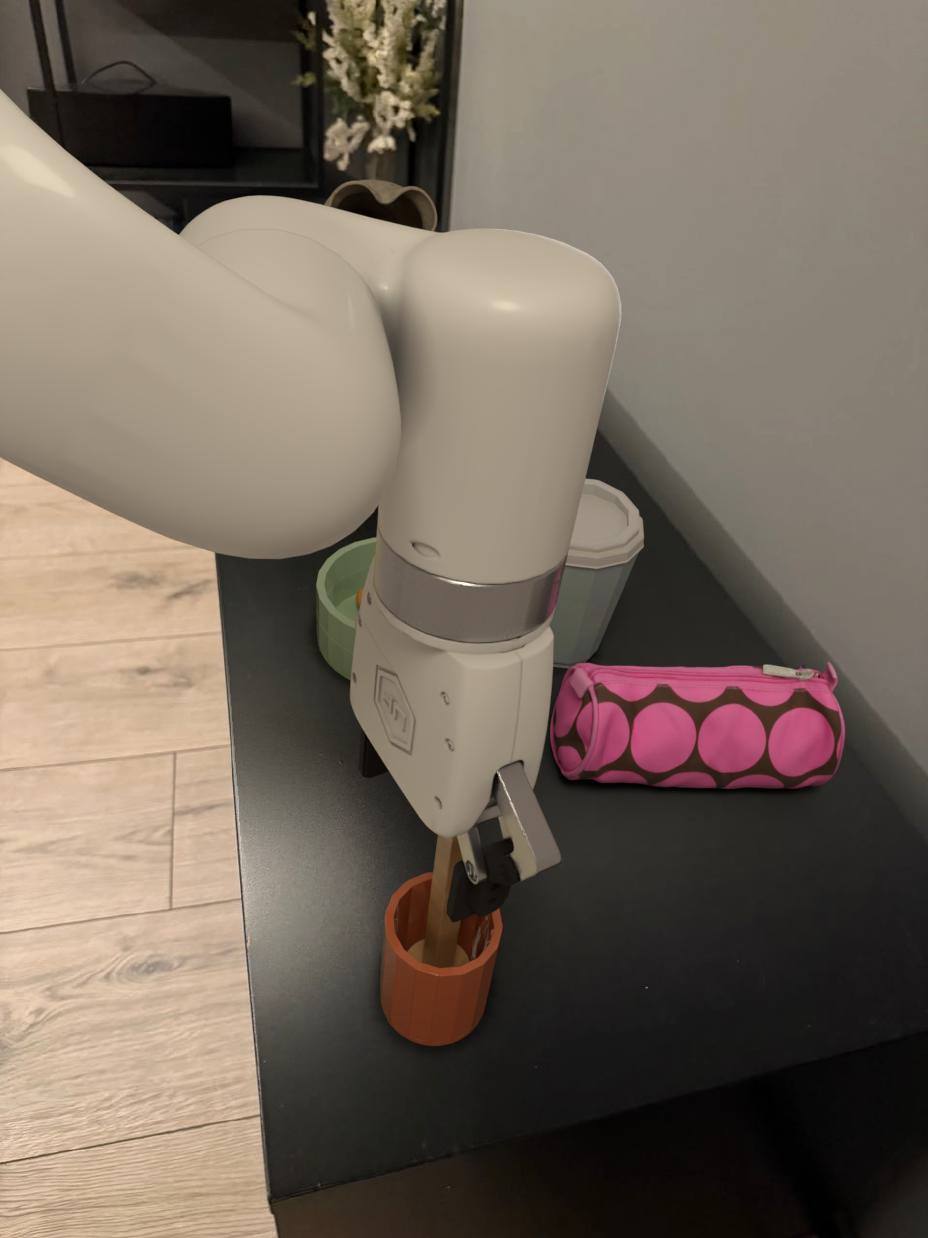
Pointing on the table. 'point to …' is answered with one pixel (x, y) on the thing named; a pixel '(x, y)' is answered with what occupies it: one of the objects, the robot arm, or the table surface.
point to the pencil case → (698, 726)
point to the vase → (386, 203)
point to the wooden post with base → (441, 913)
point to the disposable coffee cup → (594, 571)
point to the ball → (359, 597)
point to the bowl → (341, 602)
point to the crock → (434, 970)
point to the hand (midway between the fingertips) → (428, 832)
